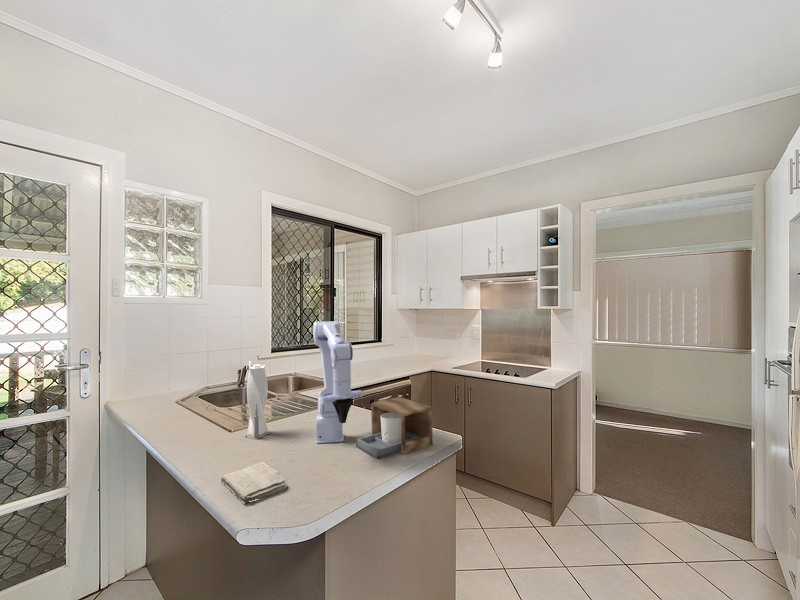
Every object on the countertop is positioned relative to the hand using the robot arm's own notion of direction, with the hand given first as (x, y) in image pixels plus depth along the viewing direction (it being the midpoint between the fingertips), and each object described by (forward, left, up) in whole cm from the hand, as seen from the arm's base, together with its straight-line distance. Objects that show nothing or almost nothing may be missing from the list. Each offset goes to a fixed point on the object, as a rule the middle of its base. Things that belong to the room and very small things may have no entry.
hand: (342, 422), depth 116 cm
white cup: (+17, +6, -11) cm, 21 cm away
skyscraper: (-33, +25, -11) cm, 43 cm away
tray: (+16, +5, -10) cm, 20 cm away
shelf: (+20, +8, -10) cm, 24 cm away
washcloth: (-24, -16, -11) cm, 31 cm away
